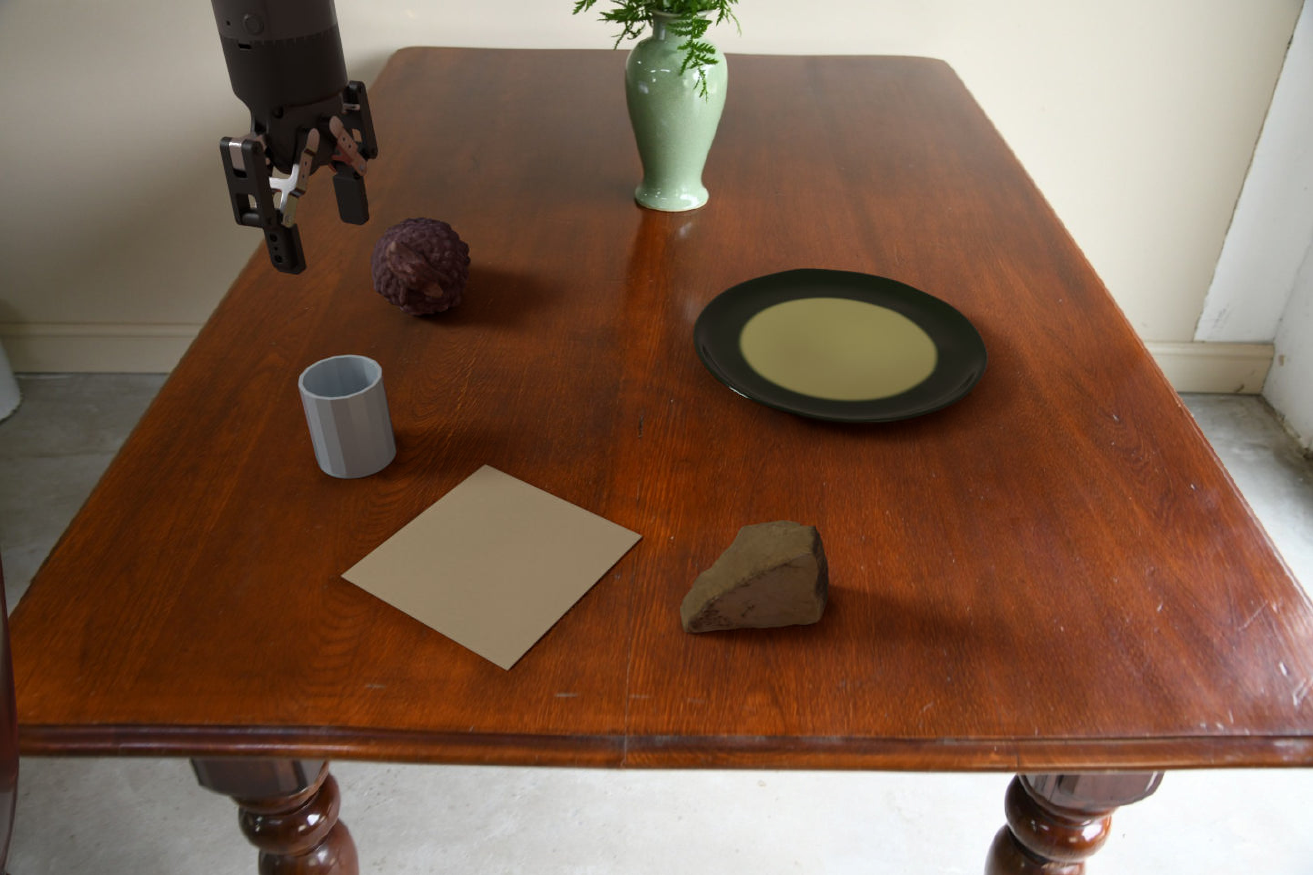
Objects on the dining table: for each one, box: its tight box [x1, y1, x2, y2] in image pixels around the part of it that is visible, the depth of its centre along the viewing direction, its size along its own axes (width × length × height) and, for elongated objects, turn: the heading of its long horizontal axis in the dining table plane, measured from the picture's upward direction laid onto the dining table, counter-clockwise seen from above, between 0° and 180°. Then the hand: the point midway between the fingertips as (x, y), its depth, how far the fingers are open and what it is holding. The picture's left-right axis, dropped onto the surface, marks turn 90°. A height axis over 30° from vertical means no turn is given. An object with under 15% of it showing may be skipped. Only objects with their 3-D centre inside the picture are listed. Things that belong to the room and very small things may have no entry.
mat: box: [340, 464, 643, 672], centre depth 77 cm, size 16×16×1 cm
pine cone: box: [370, 216, 472, 316], centre depth 106 cm, size 18×10×10 cm
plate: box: [692, 267, 989, 425], centre depth 99 cm, size 28×28×2 cm
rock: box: [679, 519, 830, 634], centre depth 71 cm, size 11×9×10 cm
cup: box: [297, 354, 397, 480], centre depth 85 cm, size 6×6×8 cm
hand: (324, 246), depth 76 cm, fingers open, 8 cm apart
